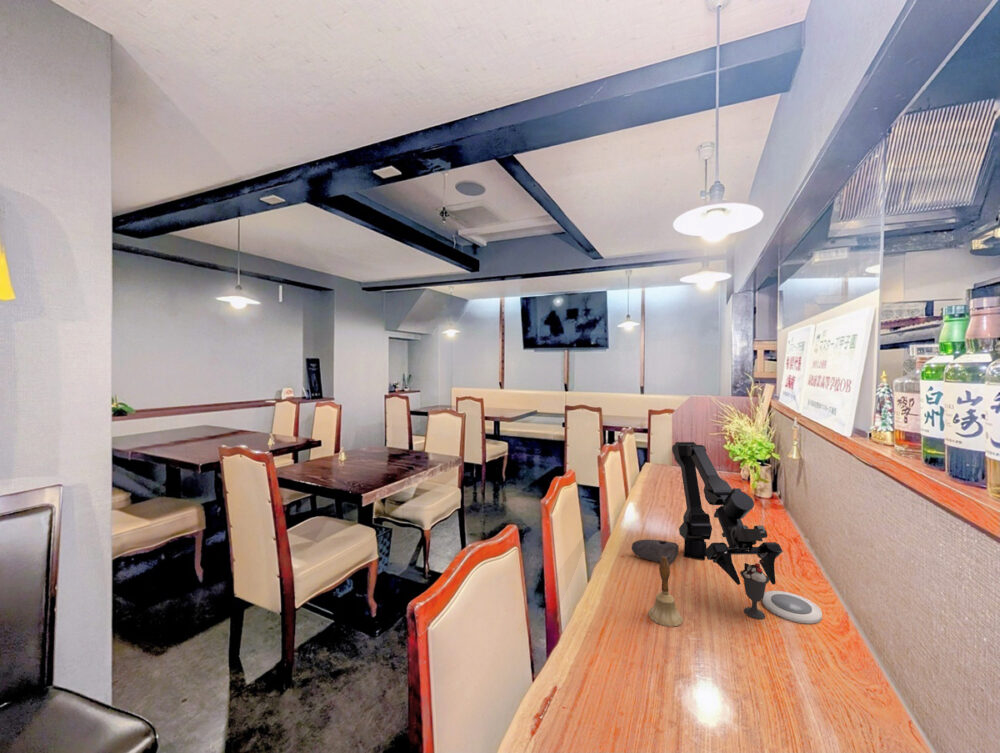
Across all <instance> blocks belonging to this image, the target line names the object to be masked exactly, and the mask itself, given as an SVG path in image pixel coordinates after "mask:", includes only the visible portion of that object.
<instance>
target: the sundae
mask: <svg viewBox="0 0 1000 753" xmlns="http://www.w3.org/2000/svg"><path fill="white" fill-rule="evenodd" d="M760 560H761V559H760ZM761 562H762V563H764V562H763V561H762V560H761ZM743 565H744V567H743V568H744V569H743V570H741V571H740V572H739V574H740V576H741V578H742V579H743V584H744V586H743V587H744V591H745V594H746V596H747V597H748V599H750V600H751V606H750V607H744V608H743V613H744V614H745V615H746V616H748V617H750V618H751V619H754V620H755V619H756V620H764V619H765V618H766V614H765V613H764V612H763V611H762V610H760V609H759V608H758V603H759V602H761V601H762V599H763V597H764V593H766V586H767V584H768V583H769V582H770V578H769V577H767V575H766V573H765V572H763V570H762V569H763V568H761V563H760V562H758V563H754V564H749V563H746V562H744V564H743Z"/></svg>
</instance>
